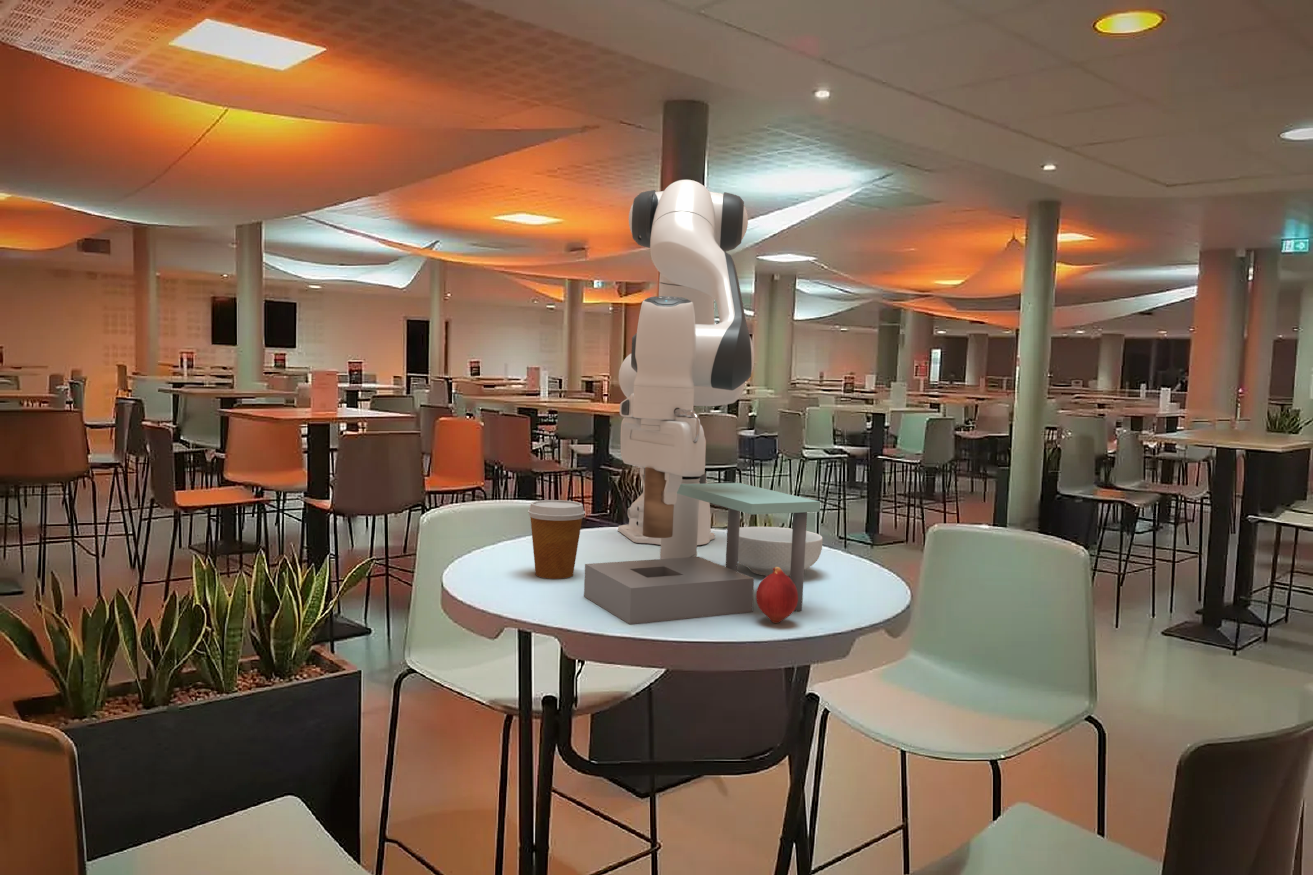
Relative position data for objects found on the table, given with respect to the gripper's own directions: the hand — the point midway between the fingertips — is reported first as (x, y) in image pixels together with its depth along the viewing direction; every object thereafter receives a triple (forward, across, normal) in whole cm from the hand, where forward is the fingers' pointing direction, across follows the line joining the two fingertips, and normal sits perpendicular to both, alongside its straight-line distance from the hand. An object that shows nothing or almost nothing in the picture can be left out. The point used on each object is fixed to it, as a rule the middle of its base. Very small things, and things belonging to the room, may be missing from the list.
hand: (659, 501), depth 132 cm
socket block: (+16, 0, -2) cm, 16 cm away
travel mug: (+15, +18, -14) cm, 28 cm away
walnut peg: (+5, 0, 0) cm, 5 cm away
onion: (+16, -14, -12) cm, 24 cm away
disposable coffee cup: (+16, +23, +7) cm, 29 cm away
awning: (+16, 0, -15) cm, 22 cm away
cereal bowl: (+15, +14, -31) cm, 38 cm away
